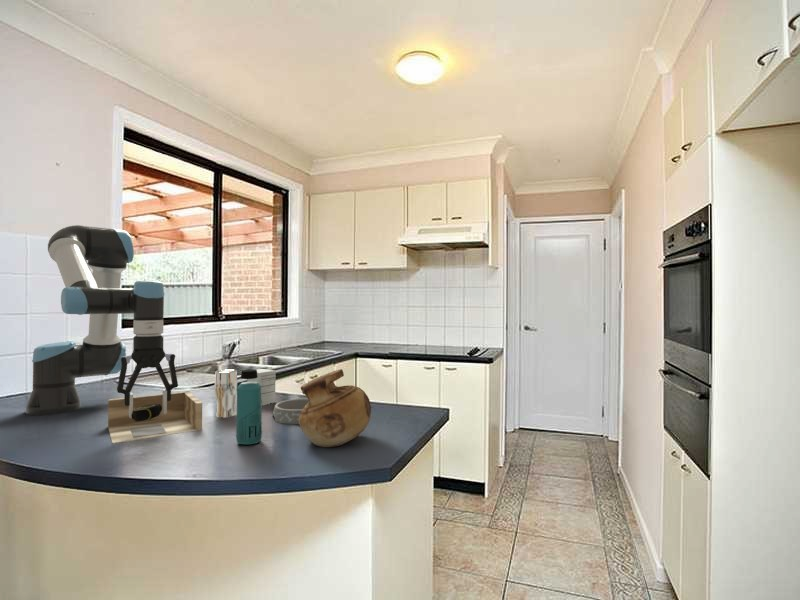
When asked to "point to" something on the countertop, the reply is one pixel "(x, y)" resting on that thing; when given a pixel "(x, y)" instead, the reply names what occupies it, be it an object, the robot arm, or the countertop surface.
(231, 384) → the white piece
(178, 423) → the corner tray
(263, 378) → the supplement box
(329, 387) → the clay pot
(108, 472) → the countertop surface
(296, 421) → the dog bowl
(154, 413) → the tape measure
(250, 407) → the beverage bottle
